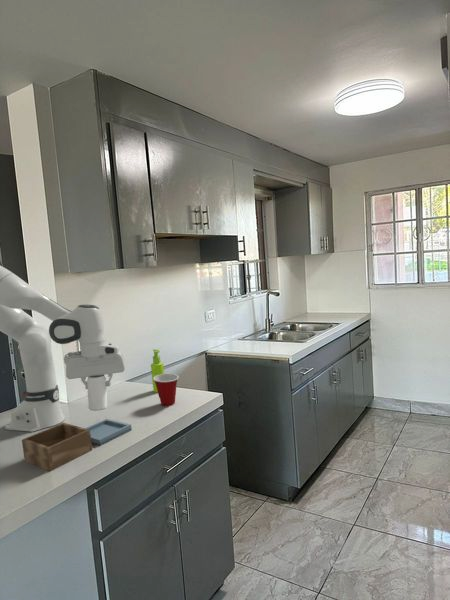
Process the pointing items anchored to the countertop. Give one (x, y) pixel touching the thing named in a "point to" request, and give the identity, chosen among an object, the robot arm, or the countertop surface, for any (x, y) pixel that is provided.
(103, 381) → the can
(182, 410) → the countertop surface
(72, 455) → the walnut sleeve
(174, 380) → the plastic cup
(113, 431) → the tray
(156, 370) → the soap dispenser
